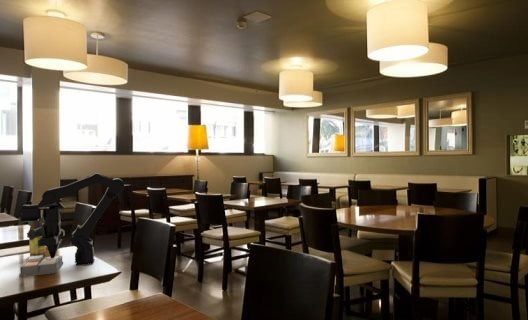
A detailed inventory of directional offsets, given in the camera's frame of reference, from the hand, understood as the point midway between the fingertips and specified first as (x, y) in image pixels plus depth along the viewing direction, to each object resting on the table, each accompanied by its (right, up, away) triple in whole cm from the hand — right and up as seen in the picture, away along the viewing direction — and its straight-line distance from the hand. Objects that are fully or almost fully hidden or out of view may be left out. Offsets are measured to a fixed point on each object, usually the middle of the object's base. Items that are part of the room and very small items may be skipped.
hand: (52, 258), depth 150 cm
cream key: (+2, -1, -6) cm, 6 cm away
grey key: (-6, -1, -2) cm, 6 cm away
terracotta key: (-4, -2, -8) cm, 9 cm away
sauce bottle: (-16, -4, +17) cm, 24 cm away
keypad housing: (-2, -4, -4) cm, 6 cm away
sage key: (0, -2, 0) cm, 2 cm away
